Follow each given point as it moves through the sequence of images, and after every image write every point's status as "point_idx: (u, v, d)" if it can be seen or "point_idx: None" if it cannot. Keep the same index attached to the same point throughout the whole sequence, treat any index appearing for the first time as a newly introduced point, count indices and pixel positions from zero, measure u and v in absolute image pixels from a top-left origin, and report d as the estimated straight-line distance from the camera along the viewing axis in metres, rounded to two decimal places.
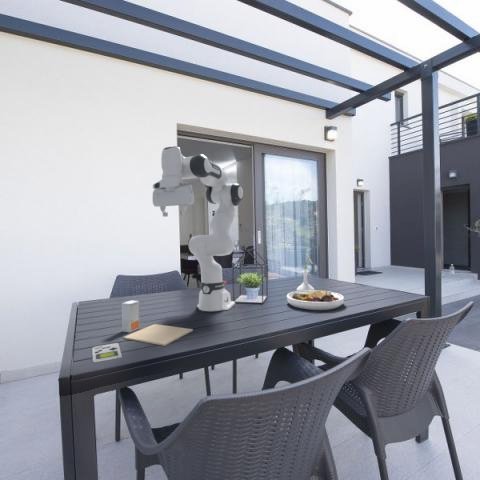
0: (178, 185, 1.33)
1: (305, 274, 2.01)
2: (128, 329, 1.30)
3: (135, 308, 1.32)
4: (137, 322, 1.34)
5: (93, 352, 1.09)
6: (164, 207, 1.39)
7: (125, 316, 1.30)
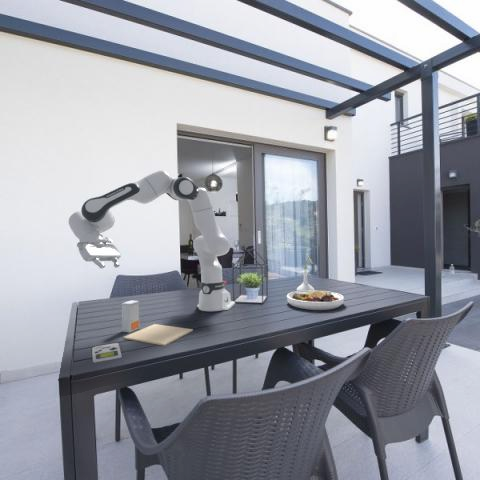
0: None
1: (305, 274, 2.01)
2: (128, 329, 1.30)
3: (135, 308, 1.32)
4: (137, 322, 1.34)
5: (93, 352, 1.09)
6: (113, 259, 1.41)
7: (125, 316, 1.30)
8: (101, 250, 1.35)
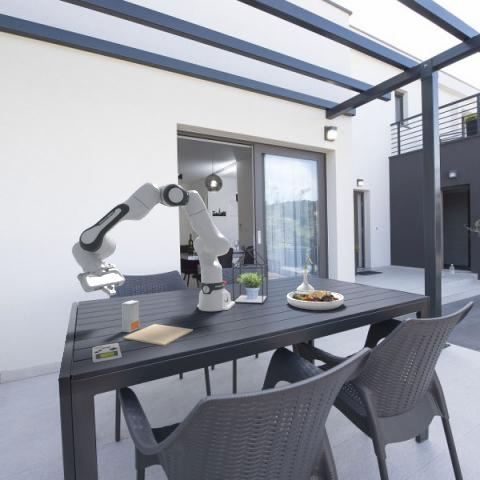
0: None
1: (305, 274, 2.01)
2: (128, 329, 1.30)
3: (135, 308, 1.32)
4: (137, 322, 1.34)
5: (93, 352, 1.09)
6: (110, 286, 1.39)
7: (125, 316, 1.30)
8: (102, 278, 1.37)
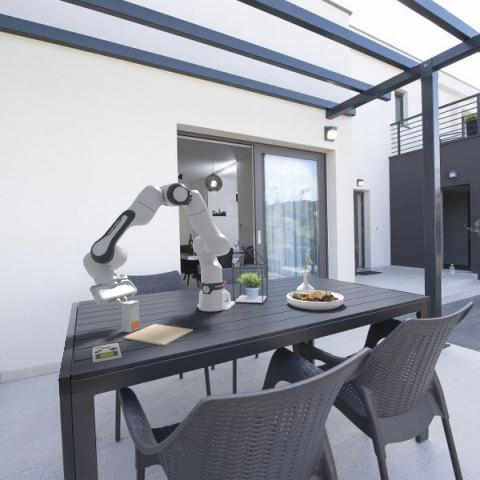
0: None
1: (305, 274, 2.01)
2: (128, 329, 1.30)
3: (135, 308, 1.32)
4: (137, 322, 1.34)
5: (93, 352, 1.09)
6: (122, 298, 1.36)
7: (125, 316, 1.30)
8: (115, 290, 1.34)
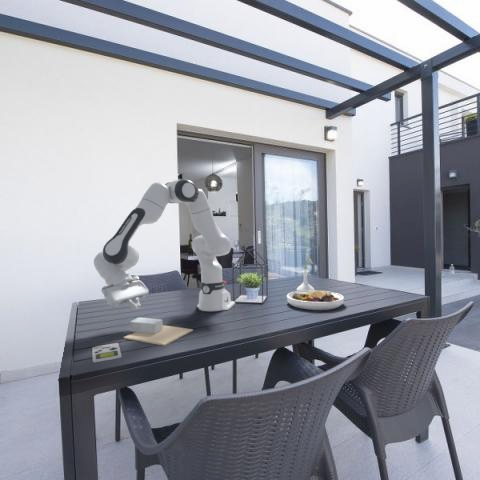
0: None
1: (305, 274, 2.01)
2: (132, 329, 1.29)
3: None
4: None
5: (93, 352, 1.09)
6: (134, 299, 1.33)
7: (143, 327, 1.27)
8: (127, 291, 1.31)
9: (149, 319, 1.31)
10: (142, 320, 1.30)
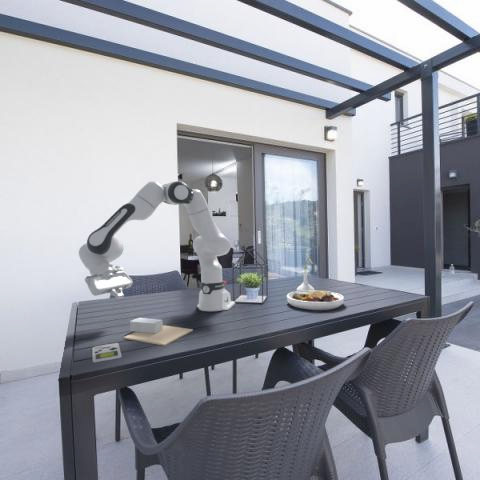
0: None
1: (305, 274, 2.01)
2: (132, 329, 1.29)
3: None
4: None
5: (93, 352, 1.09)
6: (118, 289, 1.36)
7: (143, 327, 1.27)
8: (110, 281, 1.35)
9: (149, 319, 1.31)
10: (142, 320, 1.30)
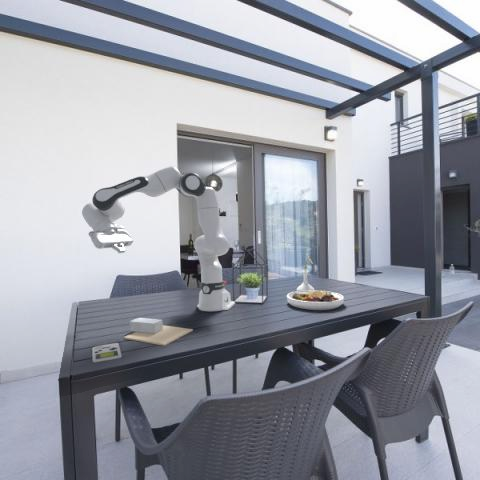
0: None
1: (305, 274, 2.01)
2: (132, 329, 1.29)
3: None
4: None
5: (93, 352, 1.09)
6: (119, 245, 1.45)
7: (143, 327, 1.27)
8: (112, 237, 1.44)
9: (149, 319, 1.31)
10: (142, 320, 1.30)
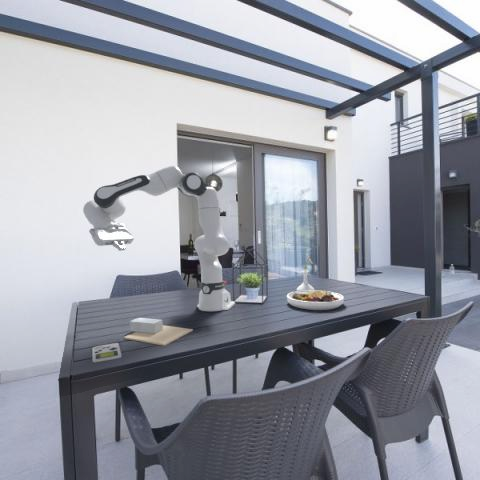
0: None
1: (305, 274, 2.01)
2: (132, 329, 1.29)
3: None
4: None
5: (93, 352, 1.09)
6: (120, 242, 1.46)
7: (143, 327, 1.27)
8: (113, 234, 1.44)
9: (149, 319, 1.31)
10: (142, 320, 1.30)
